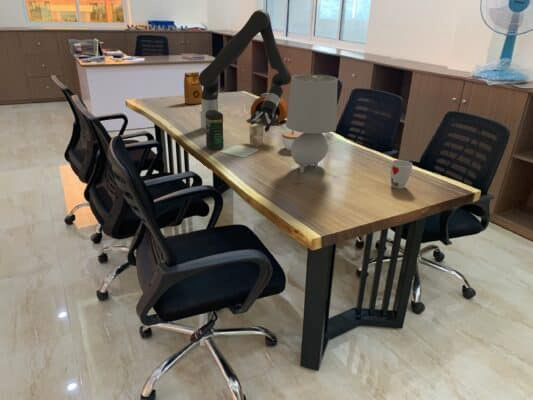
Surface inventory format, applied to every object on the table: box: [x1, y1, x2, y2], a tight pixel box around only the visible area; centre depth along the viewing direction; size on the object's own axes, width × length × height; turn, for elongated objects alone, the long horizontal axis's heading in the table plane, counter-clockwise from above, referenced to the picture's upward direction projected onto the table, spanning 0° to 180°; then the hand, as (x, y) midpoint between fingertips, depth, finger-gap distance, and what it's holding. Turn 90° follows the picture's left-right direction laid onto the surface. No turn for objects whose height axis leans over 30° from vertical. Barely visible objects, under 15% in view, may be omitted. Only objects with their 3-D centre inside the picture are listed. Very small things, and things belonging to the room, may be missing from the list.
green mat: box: [220, 144, 260, 158], centre depth 207 cm, size 14×14×1 cm
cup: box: [390, 159, 413, 190], centre depth 170 cm, size 8×8×10 cm
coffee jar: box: [205, 110, 224, 151], centre depth 208 cm, size 10×8×19 cm
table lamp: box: [285, 74, 339, 174], centre depth 179 cm, size 23×22×40 cm
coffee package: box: [183, 71, 203, 105], centre depth 298 cm, size 10×12×22 cm
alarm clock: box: [250, 92, 289, 123], centre depth 263 cm, size 23×9×17 cm, turn 68°
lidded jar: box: [281, 130, 303, 152], centre depth 211 cm, size 11×11×9 cm
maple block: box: [249, 123, 264, 147], centre depth 216 cm, size 5×5×10 cm
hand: (258, 129), depth 217 cm, fingers open, 8 cm apart
